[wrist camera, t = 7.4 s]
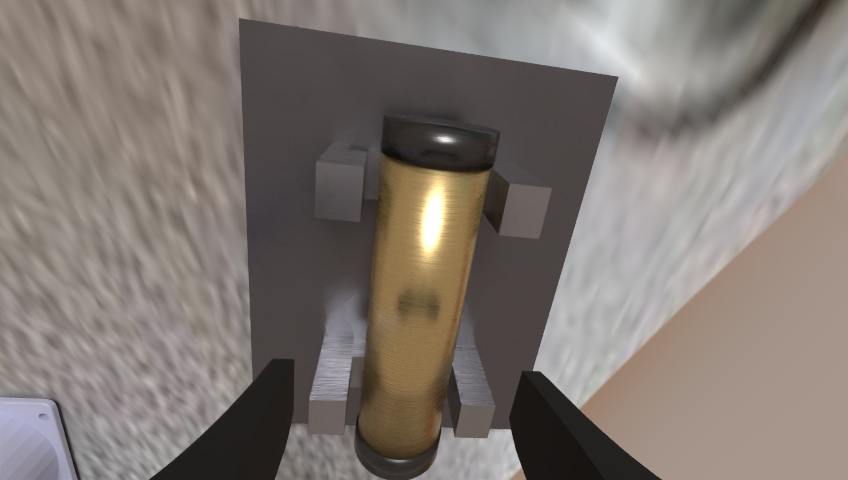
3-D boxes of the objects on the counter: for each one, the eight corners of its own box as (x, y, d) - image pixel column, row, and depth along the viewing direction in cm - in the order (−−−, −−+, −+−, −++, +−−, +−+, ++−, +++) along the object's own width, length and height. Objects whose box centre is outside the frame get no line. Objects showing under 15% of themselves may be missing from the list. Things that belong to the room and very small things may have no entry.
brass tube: (431, 409, 22) (444, 479, 18) (356, 408, 21) (352, 481, 18) (483, 123, 16) (517, 138, 12) (382, 111, 16) (385, 122, 12)
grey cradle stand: (510, 416, 26) (540, 498, 21) (259, 408, 24) (225, 497, 19) (606, 76, 18) (691, 76, 13) (247, 21, 16) (183, -5, 11)
